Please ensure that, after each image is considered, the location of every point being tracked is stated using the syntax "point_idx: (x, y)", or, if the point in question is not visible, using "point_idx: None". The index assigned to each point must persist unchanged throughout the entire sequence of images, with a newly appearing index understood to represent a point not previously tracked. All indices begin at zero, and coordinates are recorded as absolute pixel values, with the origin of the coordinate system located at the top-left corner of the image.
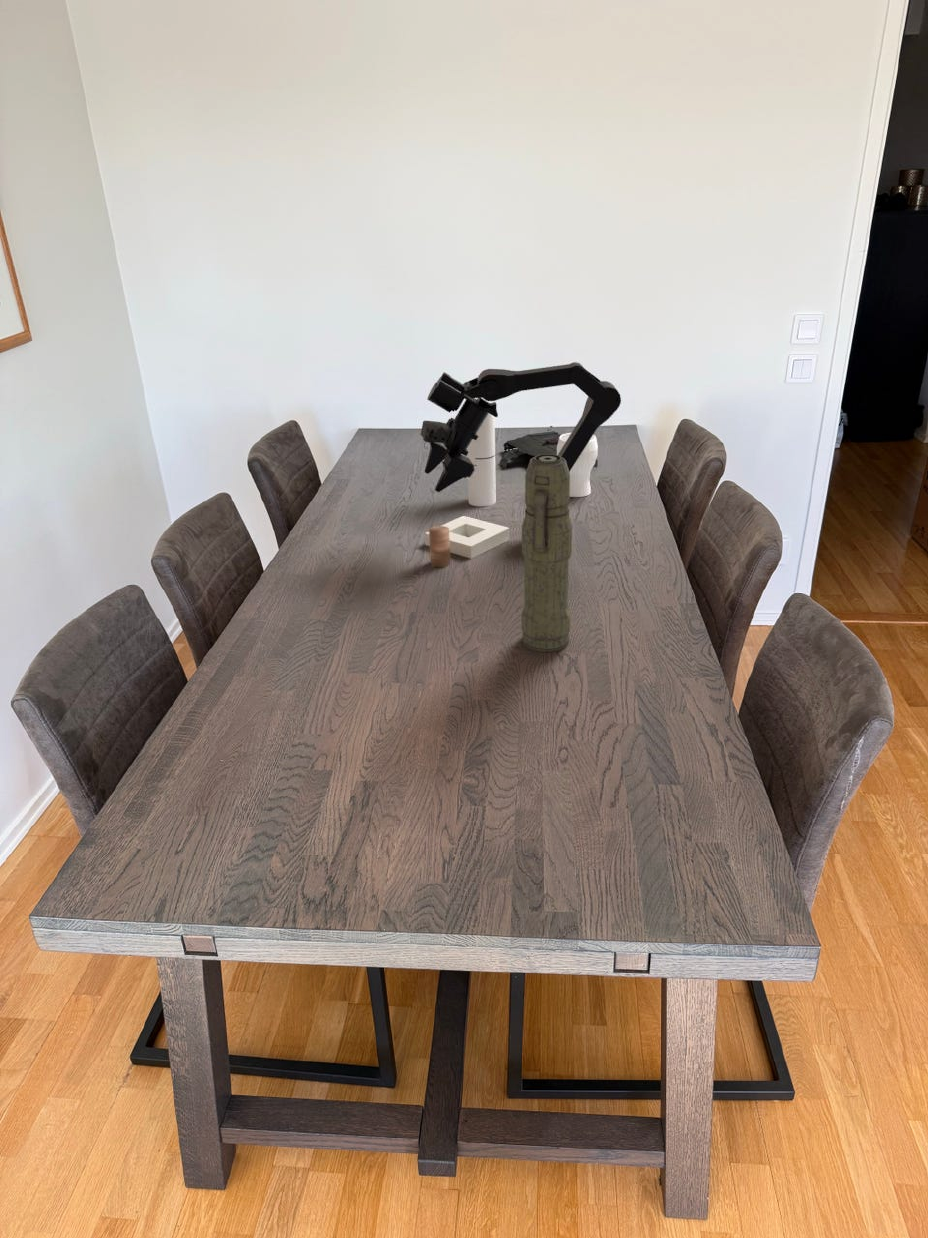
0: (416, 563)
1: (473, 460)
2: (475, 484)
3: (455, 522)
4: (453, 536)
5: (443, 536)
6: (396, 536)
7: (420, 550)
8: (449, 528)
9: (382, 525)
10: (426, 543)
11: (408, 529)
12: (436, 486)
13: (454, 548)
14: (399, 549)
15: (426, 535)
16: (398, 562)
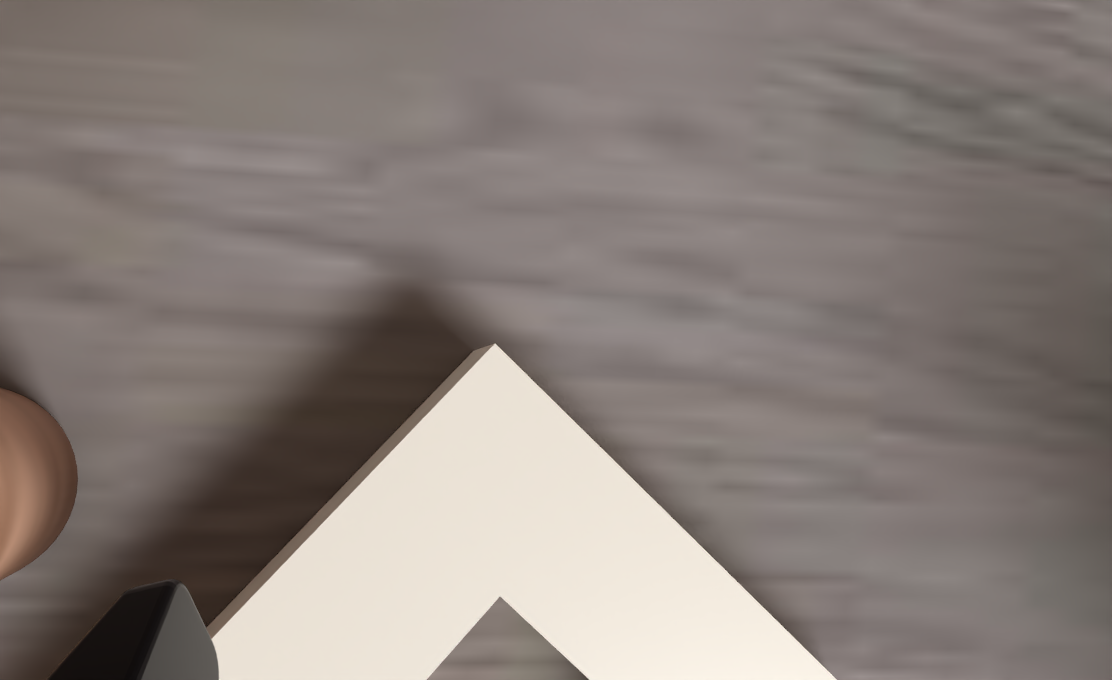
0: (11, 245)
1: None
2: None
3: (741, 669)
4: (347, 653)
5: None
6: (705, 109)
7: (347, 300)
8: (586, 607)
9: (947, 16)
10: (466, 360)
11: (844, 221)
12: (95, 660)
13: None
14: (401, 111)
15: (475, 361)
16: (71, 76)
